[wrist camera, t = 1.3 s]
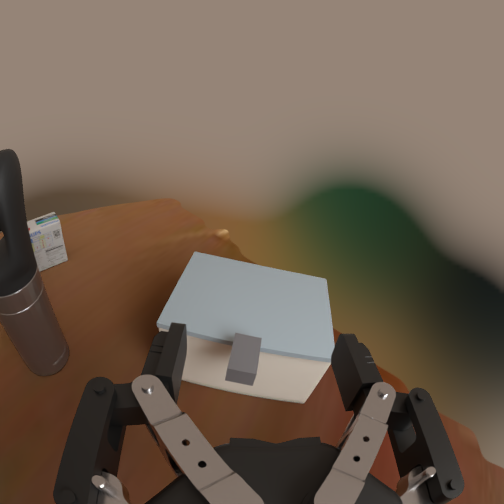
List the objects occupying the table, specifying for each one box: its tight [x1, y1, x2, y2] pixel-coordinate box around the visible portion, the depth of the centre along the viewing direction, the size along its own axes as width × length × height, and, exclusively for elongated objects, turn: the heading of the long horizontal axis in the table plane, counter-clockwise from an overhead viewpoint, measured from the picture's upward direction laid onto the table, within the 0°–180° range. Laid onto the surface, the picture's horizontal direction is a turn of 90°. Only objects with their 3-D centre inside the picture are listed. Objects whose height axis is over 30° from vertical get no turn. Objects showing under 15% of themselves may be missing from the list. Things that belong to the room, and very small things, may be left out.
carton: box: [159, 328, 331, 403], centre depth 42 cm, size 22×16×12 cm
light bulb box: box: [27, 212, 68, 272], centre depth 51 cm, size 11×7×11 cm, turn 139°
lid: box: [157, 252, 335, 386], centre depth 36 cm, size 22×22×2 cm
